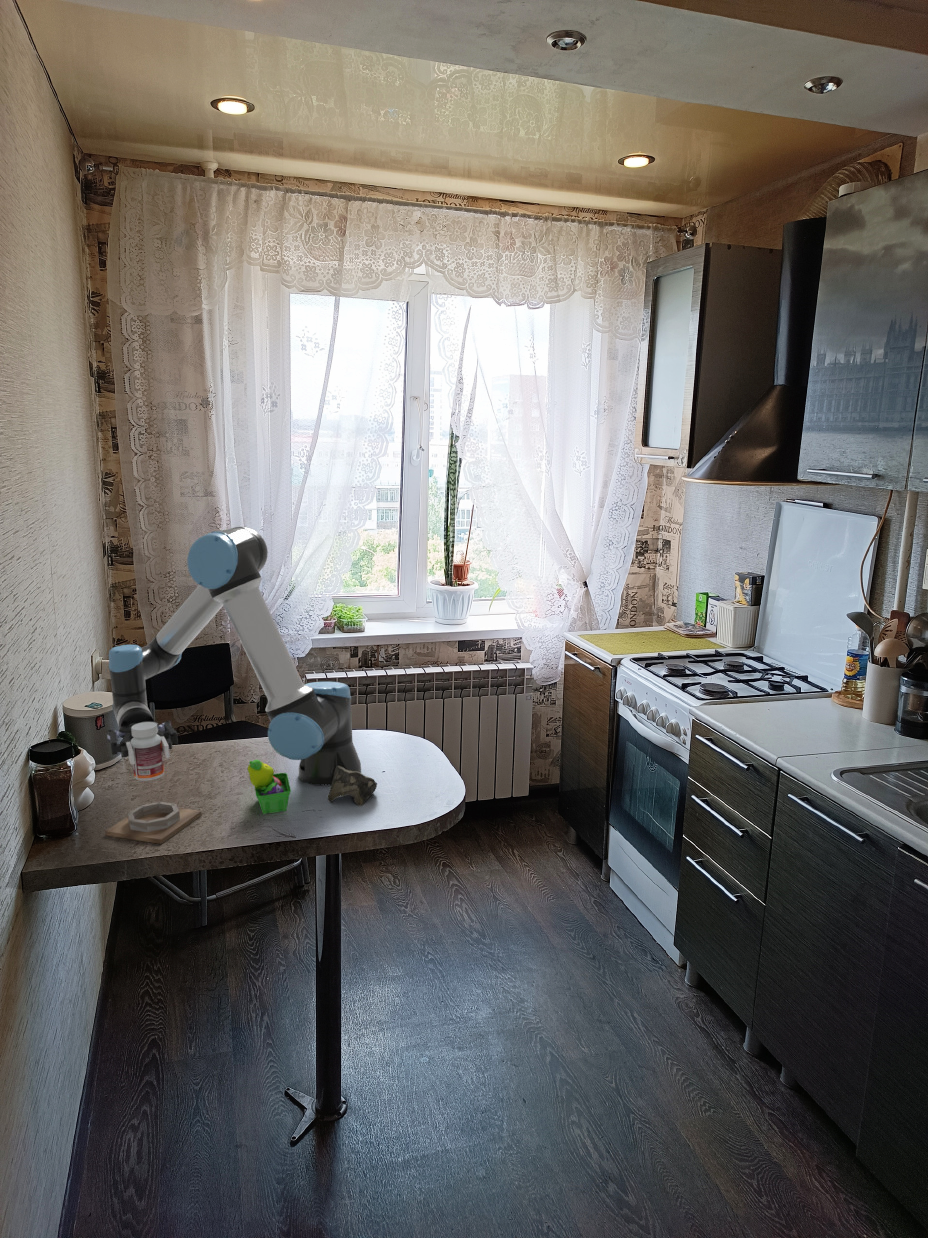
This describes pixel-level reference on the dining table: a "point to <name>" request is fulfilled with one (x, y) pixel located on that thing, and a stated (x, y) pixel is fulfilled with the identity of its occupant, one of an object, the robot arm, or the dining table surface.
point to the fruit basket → (269, 787)
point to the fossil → (351, 785)
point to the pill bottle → (147, 751)
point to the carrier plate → (154, 834)
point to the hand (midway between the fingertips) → (149, 755)
